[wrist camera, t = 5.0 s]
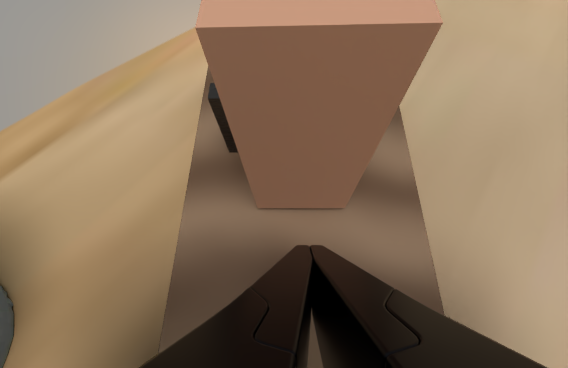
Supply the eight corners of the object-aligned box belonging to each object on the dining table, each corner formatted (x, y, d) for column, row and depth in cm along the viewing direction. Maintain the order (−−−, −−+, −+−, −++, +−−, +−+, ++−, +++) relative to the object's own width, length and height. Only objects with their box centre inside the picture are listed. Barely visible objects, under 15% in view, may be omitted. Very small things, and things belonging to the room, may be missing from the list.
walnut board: (444, 371, 13) (458, 377, 12) (165, 367, 14) (154, 372, 13) (384, 74, 22) (389, 61, 21) (212, 76, 22) (208, 64, 21)
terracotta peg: (344, 208, 15) (442, 22, 5) (257, 208, 16) (195, 27, 6) (337, 122, 18) (393, -112, 8) (262, 123, 18) (224, -107, 8)
